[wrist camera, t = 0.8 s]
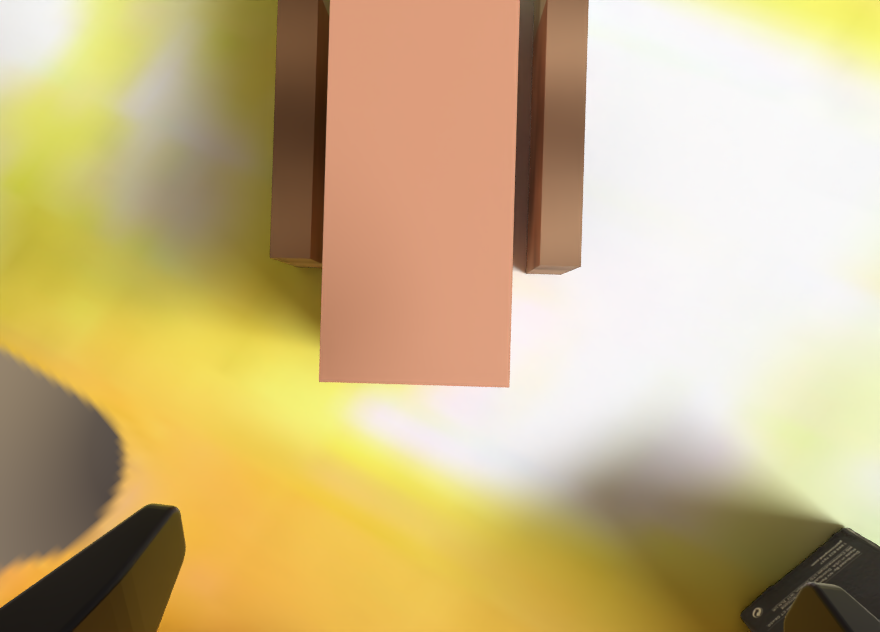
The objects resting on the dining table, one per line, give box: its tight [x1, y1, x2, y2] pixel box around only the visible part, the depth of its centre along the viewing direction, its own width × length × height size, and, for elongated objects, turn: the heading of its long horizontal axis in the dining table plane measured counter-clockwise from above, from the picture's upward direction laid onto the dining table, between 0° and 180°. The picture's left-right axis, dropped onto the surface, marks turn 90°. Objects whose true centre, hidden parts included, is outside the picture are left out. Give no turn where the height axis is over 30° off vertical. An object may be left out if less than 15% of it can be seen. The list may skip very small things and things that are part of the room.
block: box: [319, 0, 520, 387], centre depth 22 cm, size 16×6×9 cm, turn 178°
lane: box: [270, 0, 589, 275], centre depth 24 cm, size 14×12×4 cm
